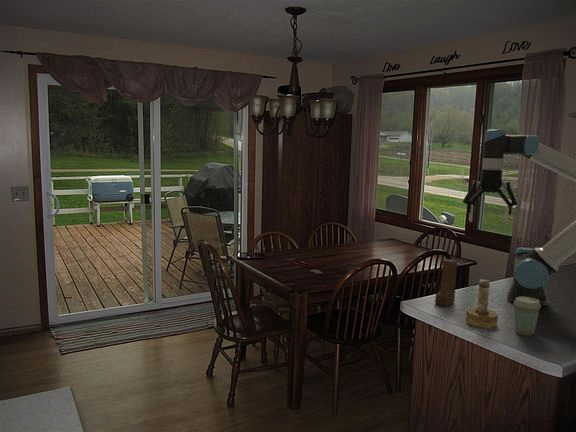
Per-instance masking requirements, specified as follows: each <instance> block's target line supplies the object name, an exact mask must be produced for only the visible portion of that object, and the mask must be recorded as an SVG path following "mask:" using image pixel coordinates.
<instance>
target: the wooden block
mask: <svg viewBox="0 0 576 432" xmlns="http://www.w3.org/2000/svg"><path fill="white" fill-rule="evenodd" d="M441 267H442V269H441V282H440V289H439V290H438V292H437V293H435V301H434V304H435V305H436V306H440V307H443V308H445V307H448V306H450V305H451V304H454V303H455V297H456V284H457V283H456V281H457V269H458V268H457V267H458V261H457V259H456V260H455V259H450V258H447V259H444V260H442V266H441Z"/></svg>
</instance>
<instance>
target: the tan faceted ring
mask: <svg viewBox="0 0 576 432" xmlns="http://www.w3.org/2000/svg"><path fill="white" fill-rule="evenodd" d="M472 307H473V306H472ZM465 315H466V316H465V320H466V322H467V323H468V325H470V326H471V325H472V326H473V327H474V326H475V327H477V328H487V329H491V328H495V327H497V325H498V319H499V318H498V314H497V312H496V311H495V310H492V309H489V308H487V315H483V314H478V313H477V307H473V308H470V307H469V308H467V309H466V314H465ZM494 326H495V327H494Z"/></svg>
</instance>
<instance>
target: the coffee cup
mask: <svg viewBox="0 0 576 432" xmlns="http://www.w3.org/2000/svg"><path fill="white" fill-rule="evenodd" d="M513 305H514V322H515V323H514V324H515V330H514V331H515V333H517V334H519V335H522V336H526V337H527V336H534V334H535V330H536V327H537V326H536V325H537V320H538V317H539V313H540V309H541V308H542V307H541V305H540V302H539V300H537V299H534V298H531V297H517V298H516V299H515V301H514V303H513Z"/></svg>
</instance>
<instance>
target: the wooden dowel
mask: <svg viewBox="0 0 576 432" xmlns="http://www.w3.org/2000/svg"><path fill="white" fill-rule="evenodd" d="M489 293H490V280H488V279H479V282H478V295H477V297H478V298H477V307H476V308H477V313H478V314H483V315H487V309H488V307H489V305H488V304H489Z"/></svg>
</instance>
